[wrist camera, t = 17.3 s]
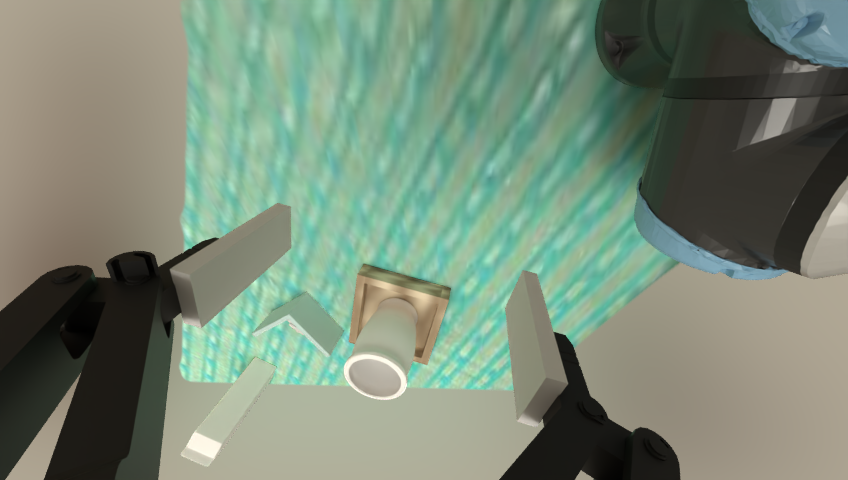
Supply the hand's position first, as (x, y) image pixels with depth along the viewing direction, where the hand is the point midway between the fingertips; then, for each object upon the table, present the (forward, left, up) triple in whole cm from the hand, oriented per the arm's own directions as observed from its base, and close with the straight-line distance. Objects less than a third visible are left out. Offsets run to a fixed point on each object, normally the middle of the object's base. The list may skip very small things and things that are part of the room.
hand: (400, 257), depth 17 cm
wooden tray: (+2, +34, -32) cm, 47 cm away
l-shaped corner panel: (+21, +44, -32) cm, 59 cm away
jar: (+2, +34, -31) cm, 46 cm away
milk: (+33, +66, -32) cm, 80 cm away
